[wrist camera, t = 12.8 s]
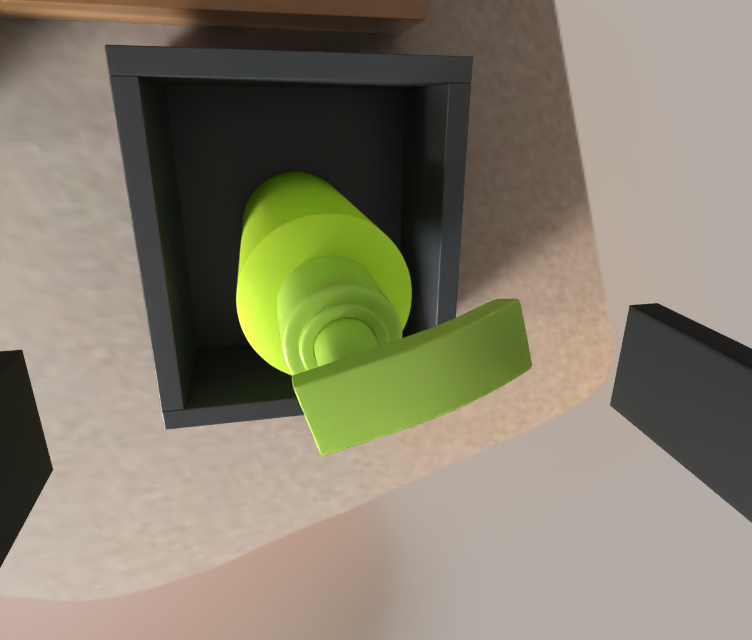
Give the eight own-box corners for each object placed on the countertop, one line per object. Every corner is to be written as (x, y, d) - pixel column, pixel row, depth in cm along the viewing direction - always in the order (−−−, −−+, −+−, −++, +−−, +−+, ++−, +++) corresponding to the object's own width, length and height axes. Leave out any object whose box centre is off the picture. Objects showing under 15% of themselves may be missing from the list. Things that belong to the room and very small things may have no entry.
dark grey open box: (144, 63, 26) (103, 44, 19) (417, 70, 29) (473, 56, 22) (184, 358, 32) (164, 430, 25) (409, 340, 35) (450, 400, 28)
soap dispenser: (378, 251, 31) (556, 445, 13) (265, 290, 31) (286, 551, 12) (348, 151, 29) (513, 215, 11) (225, 191, 28) (178, 334, 10)
